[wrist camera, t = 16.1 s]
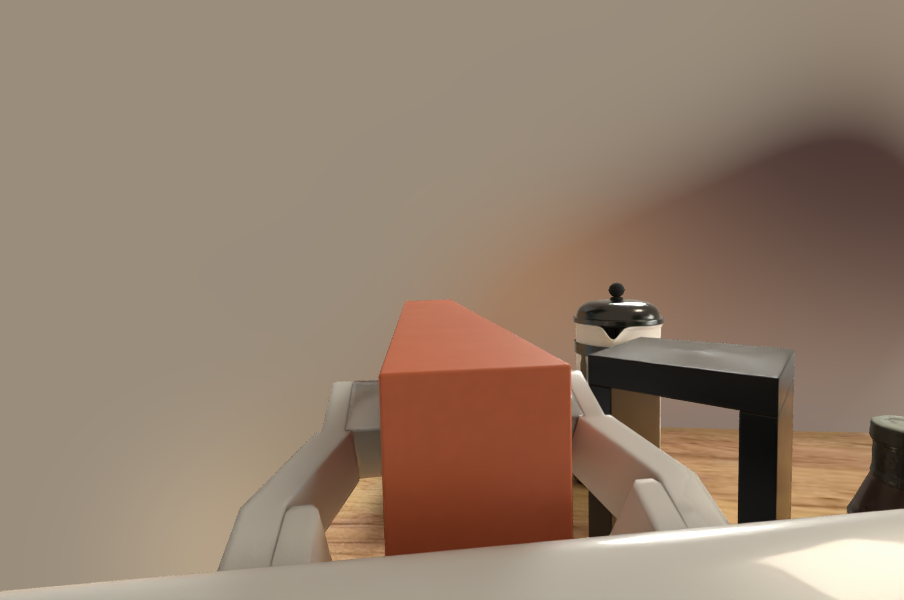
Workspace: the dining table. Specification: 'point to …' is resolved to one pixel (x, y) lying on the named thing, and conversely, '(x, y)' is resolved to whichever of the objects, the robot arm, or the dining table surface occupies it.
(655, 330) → the coffee press
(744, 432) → the frame
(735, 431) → the dining table surface
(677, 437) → the dining table surface
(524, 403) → the terracotta bar
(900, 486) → the sauce bottle
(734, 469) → the dining table surface
